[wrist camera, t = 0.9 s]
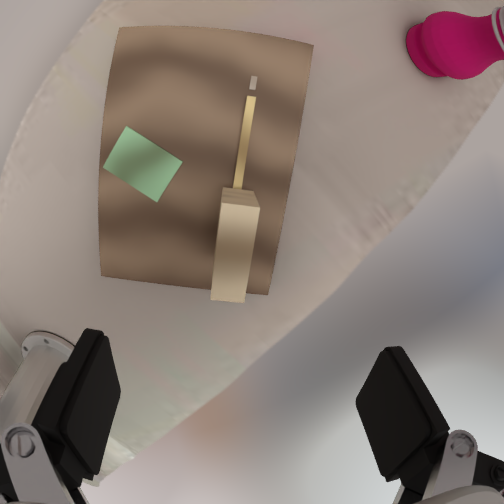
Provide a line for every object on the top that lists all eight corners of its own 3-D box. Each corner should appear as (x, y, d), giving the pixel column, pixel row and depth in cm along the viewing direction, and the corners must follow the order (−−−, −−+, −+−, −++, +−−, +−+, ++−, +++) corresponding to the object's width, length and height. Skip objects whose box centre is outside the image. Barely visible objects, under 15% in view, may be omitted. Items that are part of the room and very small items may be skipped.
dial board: (266, 287, 31) (268, 296, 30) (106, 269, 29) (100, 276, 27) (309, 49, 22) (314, 44, 20) (124, 31, 20) (118, 26, 18)
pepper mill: (392, 20, 20) (542, -32, 2) (440, 23, 20) (579, -2, 2) (412, 83, 23) (582, 82, 5) (458, 80, 23) (606, 90, 5)
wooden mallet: (239, 261, 28) (244, 302, 21) (213, 258, 27) (210, 299, 21) (265, 99, 22) (280, 89, 16) (236, 95, 22) (239, 82, 15)
